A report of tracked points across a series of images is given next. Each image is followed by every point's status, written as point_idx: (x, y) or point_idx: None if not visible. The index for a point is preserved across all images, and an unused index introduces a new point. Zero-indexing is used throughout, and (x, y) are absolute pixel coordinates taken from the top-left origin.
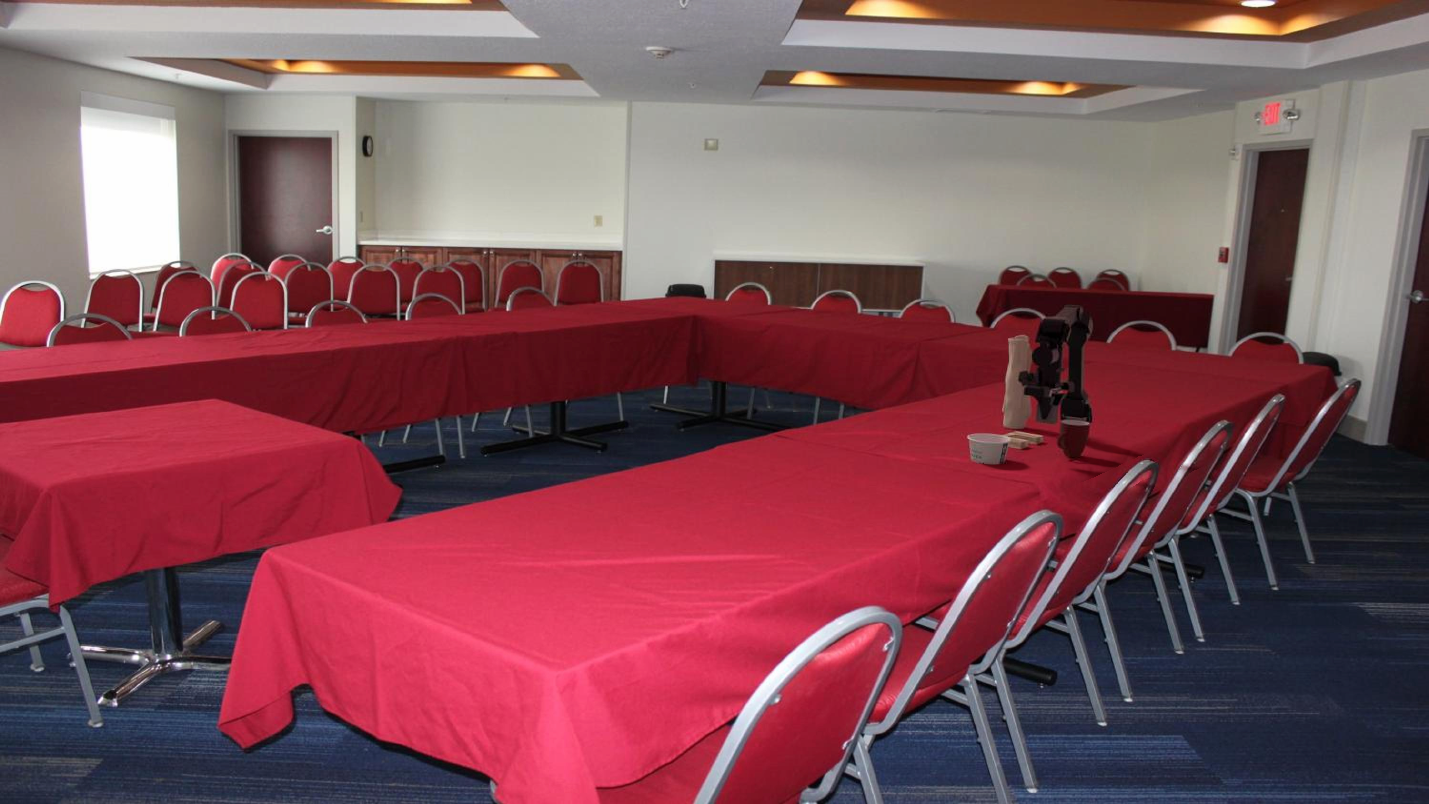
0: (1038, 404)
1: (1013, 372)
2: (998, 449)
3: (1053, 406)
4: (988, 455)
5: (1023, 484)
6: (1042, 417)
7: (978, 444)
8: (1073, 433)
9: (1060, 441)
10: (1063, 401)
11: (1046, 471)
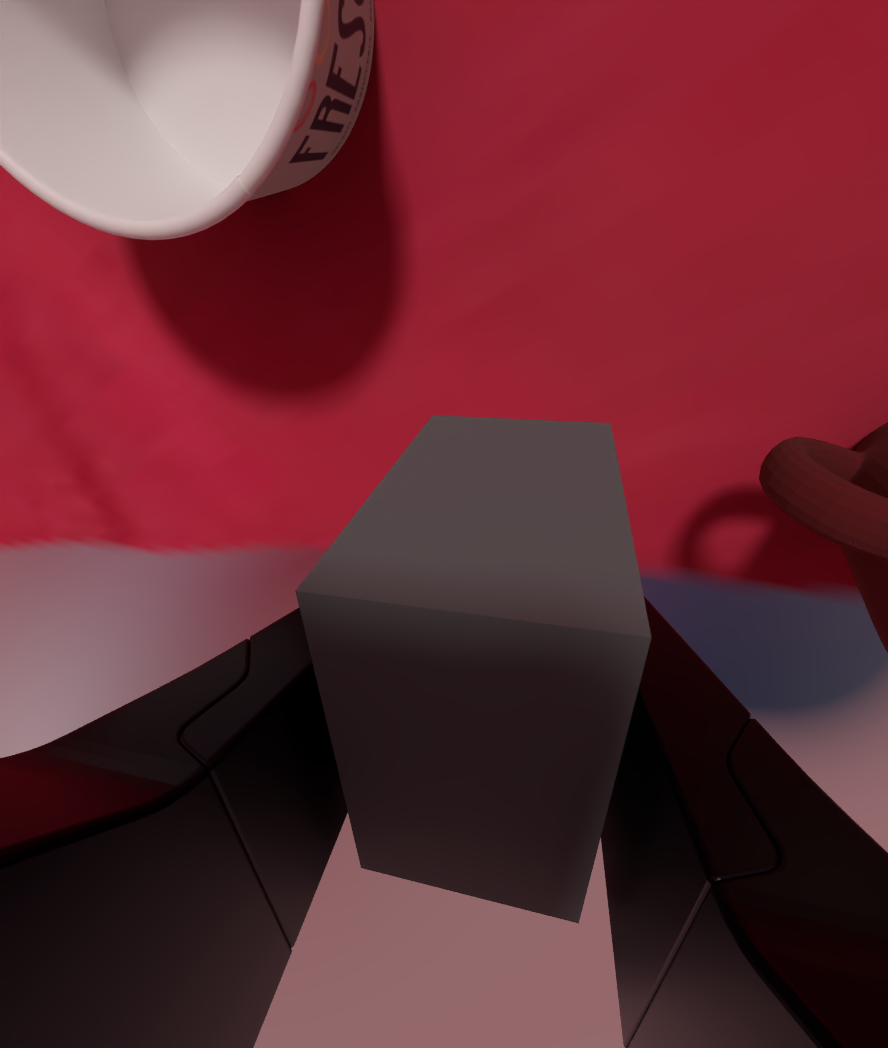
0: (166, 684)
1: None
2: (116, 188)
3: (374, 867)
4: (97, 119)
5: (83, 518)
6: None
7: None
8: (878, 625)
9: (767, 492)
10: None
11: (341, 502)
